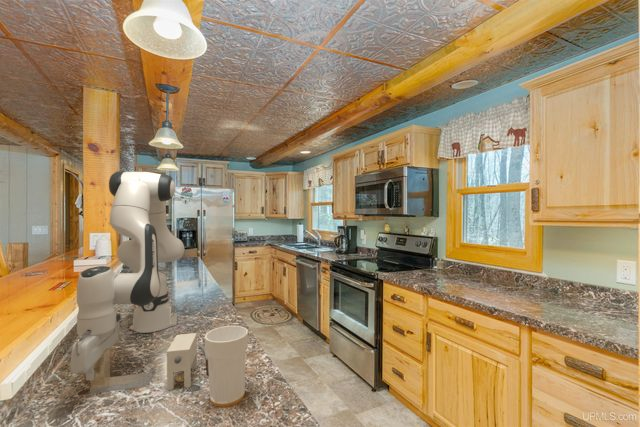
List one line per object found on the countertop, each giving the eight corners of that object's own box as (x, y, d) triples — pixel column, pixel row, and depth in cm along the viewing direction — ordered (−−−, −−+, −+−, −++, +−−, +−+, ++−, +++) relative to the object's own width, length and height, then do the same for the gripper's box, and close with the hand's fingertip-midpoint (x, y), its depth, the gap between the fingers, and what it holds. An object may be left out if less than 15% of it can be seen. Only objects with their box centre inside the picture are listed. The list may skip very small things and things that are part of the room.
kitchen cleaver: (233, 369, 97) (199, 374, 93) (233, 372, 97) (199, 377, 93) (226, 340, 119) (198, 343, 115) (225, 342, 119) (198, 346, 115)
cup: (253, 384, 89) (252, 325, 88) (242, 410, 77) (241, 342, 77) (215, 384, 89) (214, 325, 89) (198, 409, 78) (197, 342, 77)
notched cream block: (177, 368, 98) (176, 334, 98) (197, 366, 99) (196, 333, 99) (166, 392, 85) (165, 353, 85) (189, 389, 87) (188, 350, 87)
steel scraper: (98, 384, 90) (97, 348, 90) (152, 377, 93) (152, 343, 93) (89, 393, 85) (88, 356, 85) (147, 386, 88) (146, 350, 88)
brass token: (177, 375, 94) (177, 373, 94) (192, 374, 95) (192, 371, 95) (173, 383, 90) (173, 381, 90) (189, 381, 91) (189, 379, 91)
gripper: (90, 337, 78) (91, 391, 78) (123, 312, 98) (124, 354, 98) (61, 340, 77) (63, 394, 77) (101, 313, 97) (102, 356, 97)
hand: (97, 371), depth 88 cm, fingers open, 6 cm apart
